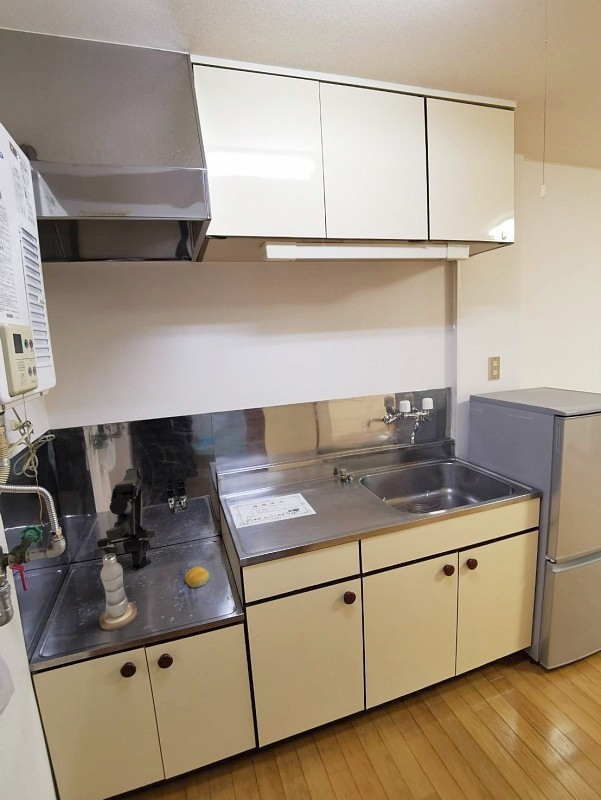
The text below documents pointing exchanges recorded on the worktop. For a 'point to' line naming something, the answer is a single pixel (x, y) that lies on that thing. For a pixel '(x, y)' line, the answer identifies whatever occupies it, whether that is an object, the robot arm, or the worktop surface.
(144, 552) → the robot arm
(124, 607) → the plastic bottle
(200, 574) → the bread roll
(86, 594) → the worktop surface
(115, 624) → the tan round plate
